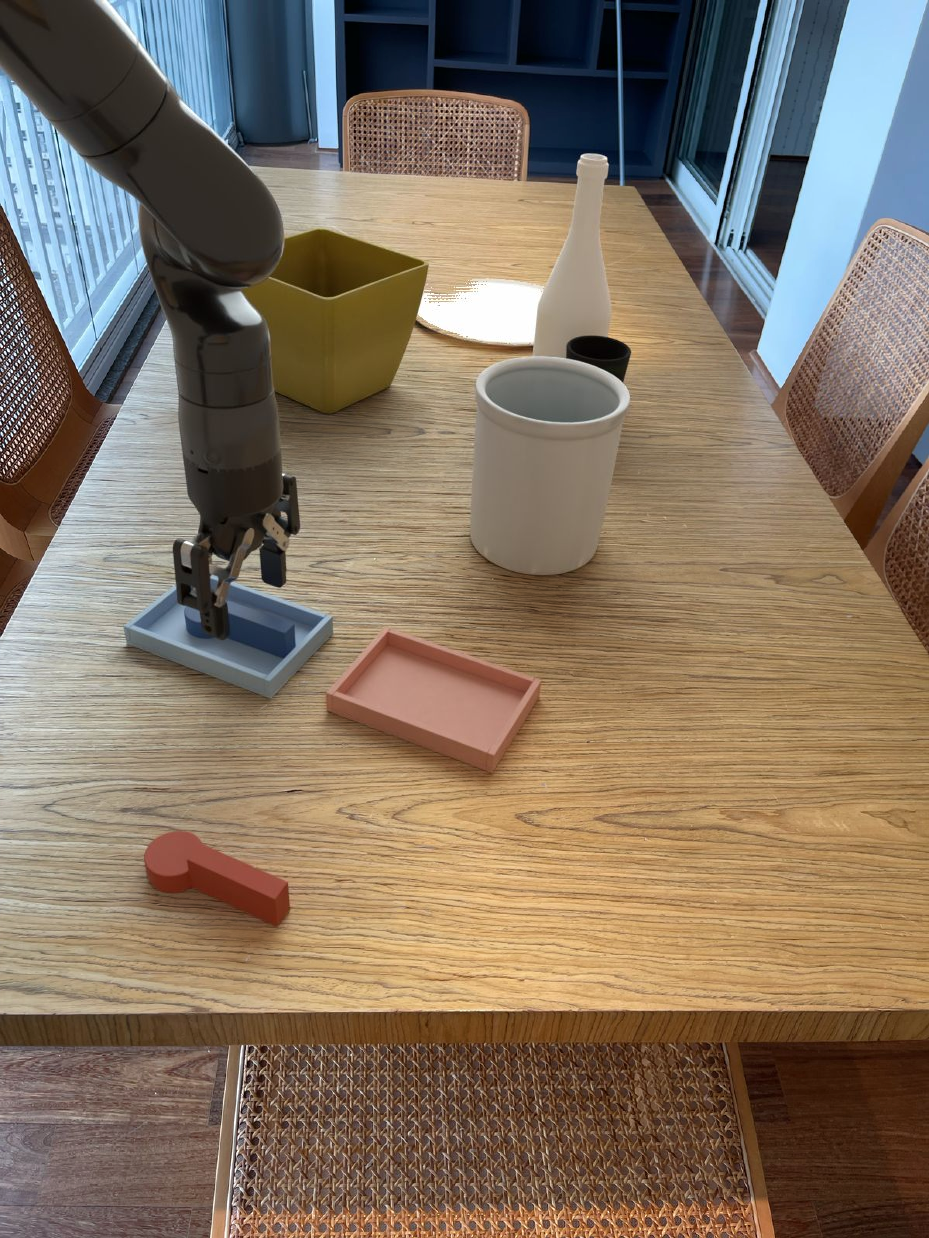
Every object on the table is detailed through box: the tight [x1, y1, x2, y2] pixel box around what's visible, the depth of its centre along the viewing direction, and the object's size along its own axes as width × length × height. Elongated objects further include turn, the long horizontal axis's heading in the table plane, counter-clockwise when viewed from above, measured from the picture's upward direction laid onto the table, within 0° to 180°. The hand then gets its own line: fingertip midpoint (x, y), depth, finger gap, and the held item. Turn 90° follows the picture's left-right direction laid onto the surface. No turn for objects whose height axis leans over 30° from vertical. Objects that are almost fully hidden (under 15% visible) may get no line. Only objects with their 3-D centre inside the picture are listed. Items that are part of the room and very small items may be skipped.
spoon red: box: [143, 830, 291, 928], centre depth 68 cm, size 11×4×3 cm, turn 65°
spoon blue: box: [184, 601, 296, 659], centre depth 89 cm, size 11×4×3 cm, turn 65°
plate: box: [416, 278, 545, 348], centre depth 157 cm, size 29×29×1 cm
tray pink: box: [325, 626, 543, 774], centre depth 85 cm, size 15×10×2 cm
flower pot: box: [242, 227, 430, 414], centre depth 128 cm, size 19×19×17 cm
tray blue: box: [123, 575, 334, 699], centre depth 90 cm, size 15×10×2 cm
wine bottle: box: [532, 153, 613, 359], centre depth 127 cm, size 10×10×30 cm
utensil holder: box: [469, 355, 631, 576], centre depth 101 cm, size 15×15×18 cm
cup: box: [566, 335, 632, 384], centre depth 122 cm, size 8×8×12 cm
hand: (246, 608), depth 87 cm, fingers open, 8 cm apart
